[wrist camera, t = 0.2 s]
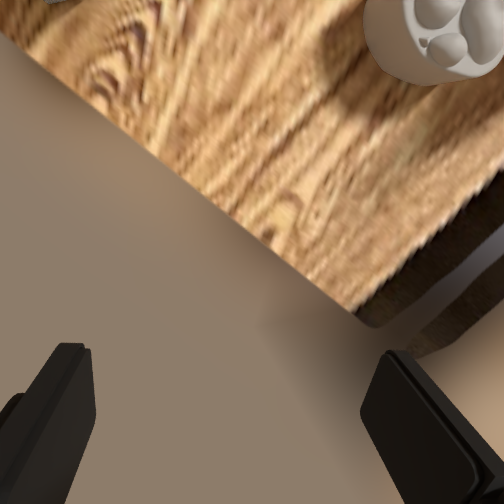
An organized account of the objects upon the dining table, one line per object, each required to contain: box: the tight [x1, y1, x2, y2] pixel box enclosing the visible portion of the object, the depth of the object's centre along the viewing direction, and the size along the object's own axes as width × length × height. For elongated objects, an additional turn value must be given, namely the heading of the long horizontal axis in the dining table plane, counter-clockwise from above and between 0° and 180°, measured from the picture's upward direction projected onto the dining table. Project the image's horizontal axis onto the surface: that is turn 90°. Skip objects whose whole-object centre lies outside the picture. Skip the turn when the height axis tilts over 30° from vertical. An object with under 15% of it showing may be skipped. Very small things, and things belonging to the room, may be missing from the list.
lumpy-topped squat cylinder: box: [363, 0, 504, 86], centre depth 29 cm, size 10×13×9 cm
